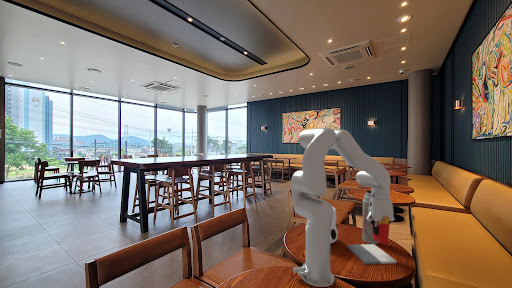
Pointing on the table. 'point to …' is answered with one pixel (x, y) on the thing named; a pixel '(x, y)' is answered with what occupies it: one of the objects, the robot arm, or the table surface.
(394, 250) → the table surface
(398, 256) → the table surface
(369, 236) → the thermos bottle
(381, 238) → the french fries
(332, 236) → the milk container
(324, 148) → the robot arm
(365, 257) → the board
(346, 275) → the table surface
